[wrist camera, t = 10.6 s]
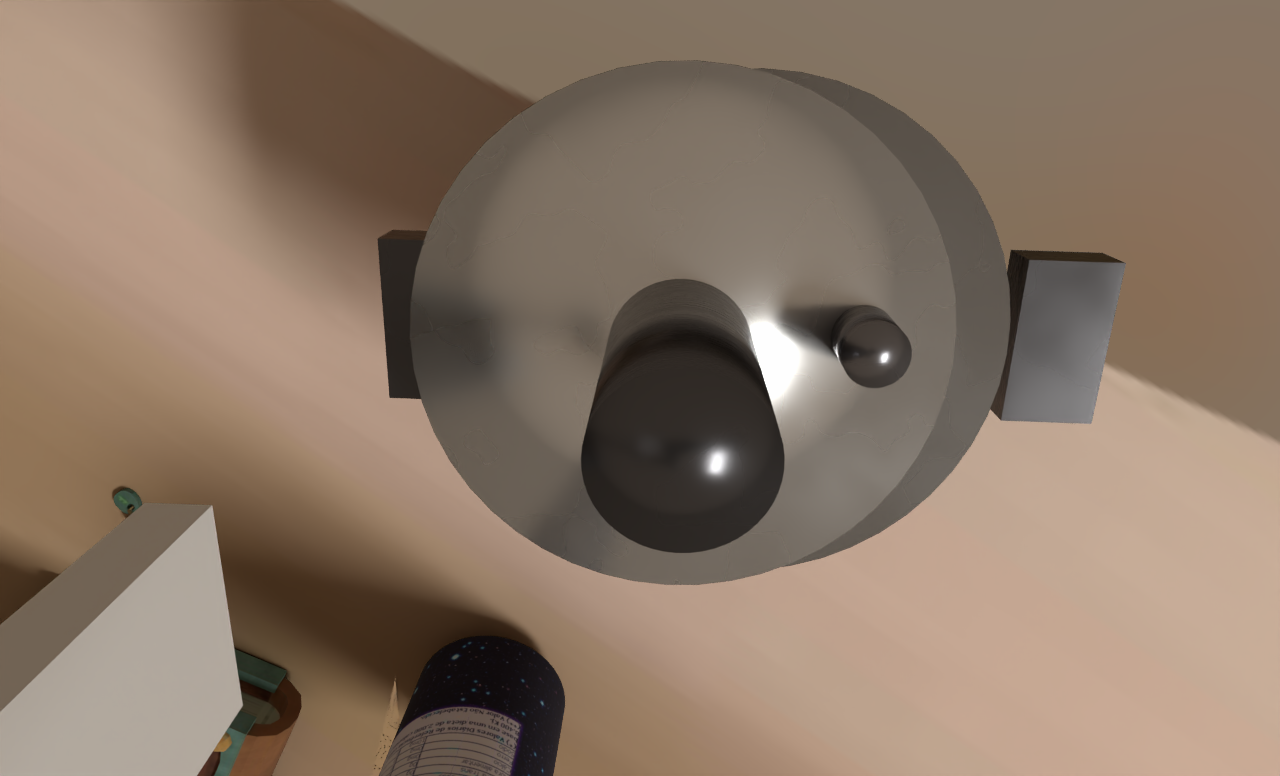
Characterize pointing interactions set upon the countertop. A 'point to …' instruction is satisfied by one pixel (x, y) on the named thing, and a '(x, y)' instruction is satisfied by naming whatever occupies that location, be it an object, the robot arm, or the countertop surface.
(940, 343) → the lid
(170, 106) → the countertop surface
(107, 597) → the robot arm
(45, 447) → the countertop surface
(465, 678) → the beverage can
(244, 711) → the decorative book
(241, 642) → the countertop surface
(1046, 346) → the pot
